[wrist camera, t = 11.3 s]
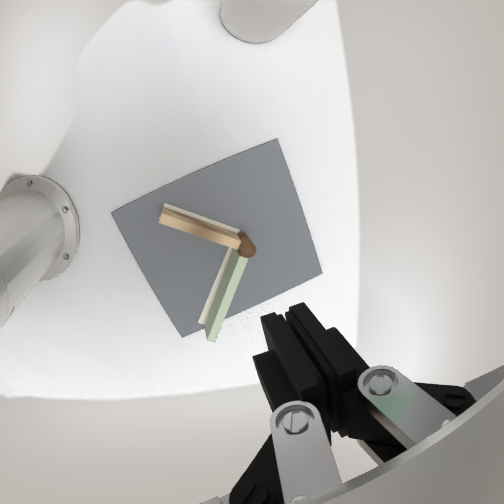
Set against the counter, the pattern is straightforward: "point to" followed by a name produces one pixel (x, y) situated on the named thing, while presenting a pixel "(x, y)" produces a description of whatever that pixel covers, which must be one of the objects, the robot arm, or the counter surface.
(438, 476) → the robot arm
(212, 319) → the fence hinged panel
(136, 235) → the board
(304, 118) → the counter surface
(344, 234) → the counter surface
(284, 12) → the milk bottle
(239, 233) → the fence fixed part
